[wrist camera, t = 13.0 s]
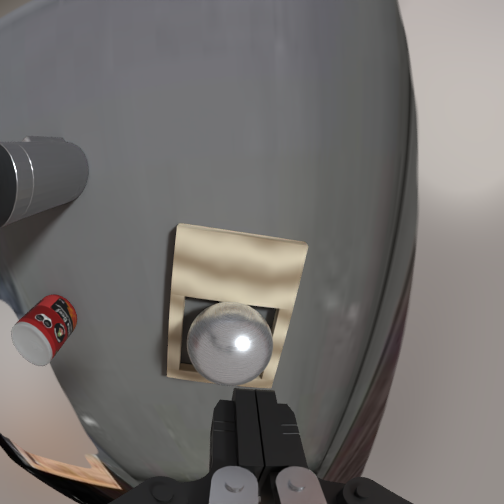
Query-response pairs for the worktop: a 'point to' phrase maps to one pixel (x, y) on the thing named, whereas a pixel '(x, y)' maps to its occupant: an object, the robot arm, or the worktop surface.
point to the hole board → (233, 284)
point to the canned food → (44, 329)
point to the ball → (229, 343)
